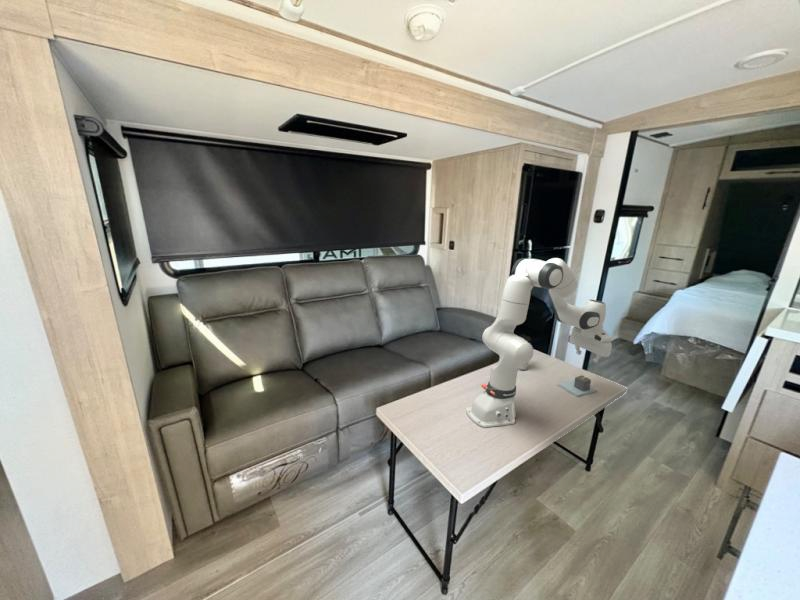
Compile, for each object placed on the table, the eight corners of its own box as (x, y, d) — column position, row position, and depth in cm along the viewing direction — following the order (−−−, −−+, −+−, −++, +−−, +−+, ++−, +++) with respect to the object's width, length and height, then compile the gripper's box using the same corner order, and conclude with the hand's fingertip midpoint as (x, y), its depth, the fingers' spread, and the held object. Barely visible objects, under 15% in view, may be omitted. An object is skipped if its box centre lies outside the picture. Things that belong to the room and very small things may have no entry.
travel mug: (525, 365, 188) (529, 334, 183) (528, 371, 181) (532, 339, 176) (514, 365, 188) (518, 334, 183) (517, 370, 182) (521, 338, 177)
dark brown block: (582, 391, 159) (583, 381, 157) (573, 386, 163) (575, 376, 162) (589, 389, 161) (591, 379, 159) (580, 384, 165) (582, 374, 164)
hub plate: (576, 396, 156) (578, 387, 155) (557, 385, 167) (558, 376, 165) (596, 391, 161) (598, 382, 160) (576, 380, 172) (577, 372, 170)
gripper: (568, 326, 162) (564, 350, 166) (606, 340, 144) (601, 367, 147) (577, 324, 164) (573, 349, 168) (616, 338, 146) (610, 365, 150)
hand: (586, 357), depth 158 cm, fingers open, 8 cm apart
